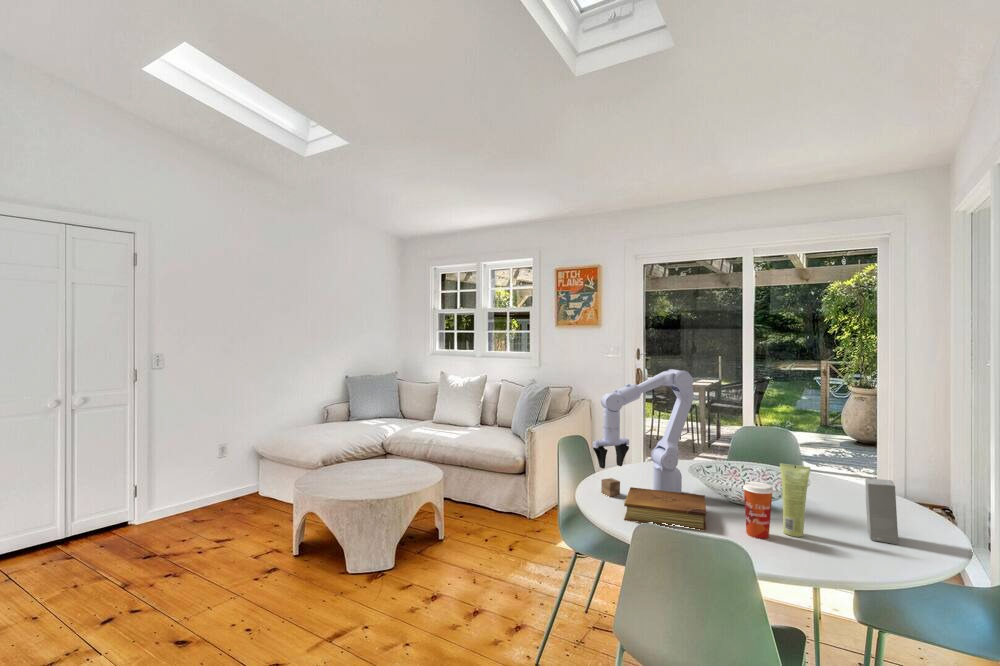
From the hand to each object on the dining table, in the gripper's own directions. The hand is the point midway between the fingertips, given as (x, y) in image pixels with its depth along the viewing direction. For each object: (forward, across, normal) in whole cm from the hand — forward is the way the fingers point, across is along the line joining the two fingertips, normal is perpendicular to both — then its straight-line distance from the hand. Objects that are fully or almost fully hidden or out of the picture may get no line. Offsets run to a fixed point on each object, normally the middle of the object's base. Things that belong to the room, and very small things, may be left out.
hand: (610, 466), depth 180 cm
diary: (+10, -2, +24) cm, 26 cm away
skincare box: (+10, -44, +63) cm, 77 cm away
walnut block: (+10, 0, 0) cm, 10 cm away
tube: (+10, -24, +51) cm, 57 cm away
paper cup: (+10, -14, +47) cm, 50 cm away
